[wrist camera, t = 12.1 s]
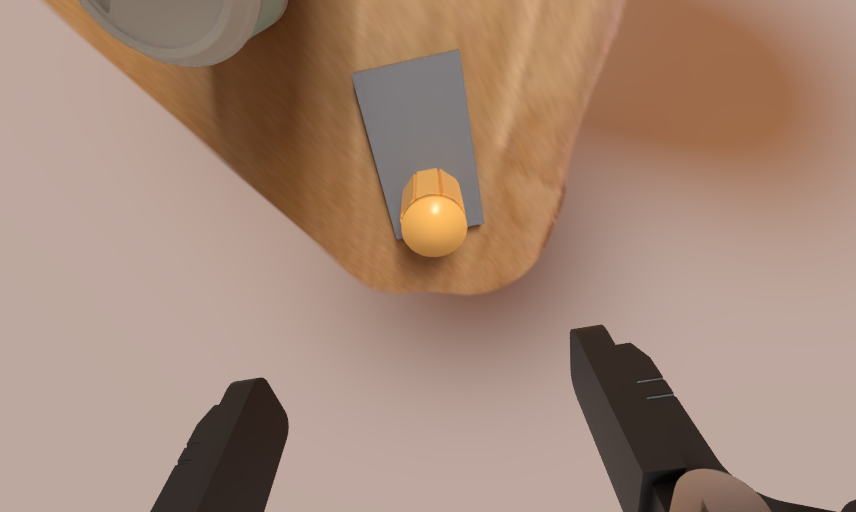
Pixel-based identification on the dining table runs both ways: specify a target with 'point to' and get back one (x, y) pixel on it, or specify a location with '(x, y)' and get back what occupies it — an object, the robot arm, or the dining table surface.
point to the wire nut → (433, 213)
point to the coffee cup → (185, 26)
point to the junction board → (419, 127)
